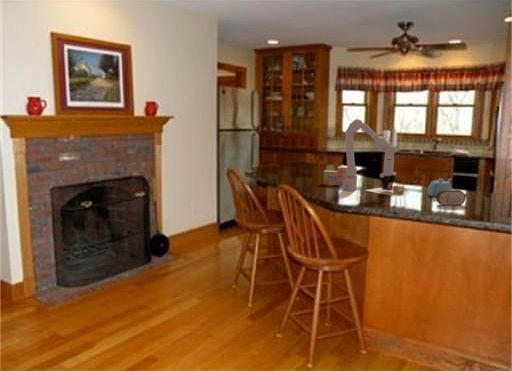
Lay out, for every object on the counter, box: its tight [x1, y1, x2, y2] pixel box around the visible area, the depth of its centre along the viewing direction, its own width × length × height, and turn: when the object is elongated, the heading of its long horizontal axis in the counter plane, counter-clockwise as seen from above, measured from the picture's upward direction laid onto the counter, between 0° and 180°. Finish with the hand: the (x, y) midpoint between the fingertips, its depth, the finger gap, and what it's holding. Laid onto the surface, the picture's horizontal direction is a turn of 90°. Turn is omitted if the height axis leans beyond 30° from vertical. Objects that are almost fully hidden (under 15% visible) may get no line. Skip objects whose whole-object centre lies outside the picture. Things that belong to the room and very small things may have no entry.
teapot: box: [427, 178, 453, 198], centre depth 257 cm, size 13×11×18 cm
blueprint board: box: [364, 187, 410, 197], centre depth 269 cm, size 22×16×1 cm
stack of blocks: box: [322, 165, 358, 187], centre depth 294 cm, size 21×6×12 cm, turn 77°
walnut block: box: [381, 182, 394, 191], centre depth 269 cm, size 4×4×4 cm
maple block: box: [392, 184, 405, 196], centre depth 263 cm, size 4×4×4 cm
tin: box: [435, 189, 467, 207], centre depth 235 cm, size 15×3×8 cm, turn 92°
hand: (387, 187), depth 269 cm, fingers closed on walnut block, 4 cm apart
